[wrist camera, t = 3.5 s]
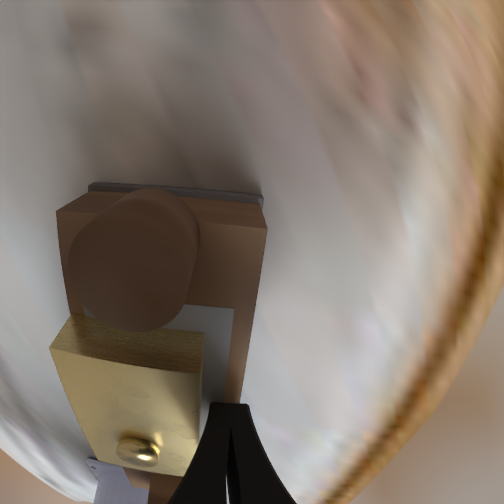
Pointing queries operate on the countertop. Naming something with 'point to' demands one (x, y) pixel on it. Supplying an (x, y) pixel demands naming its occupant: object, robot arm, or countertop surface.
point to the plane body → (168, 277)
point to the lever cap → (133, 392)
